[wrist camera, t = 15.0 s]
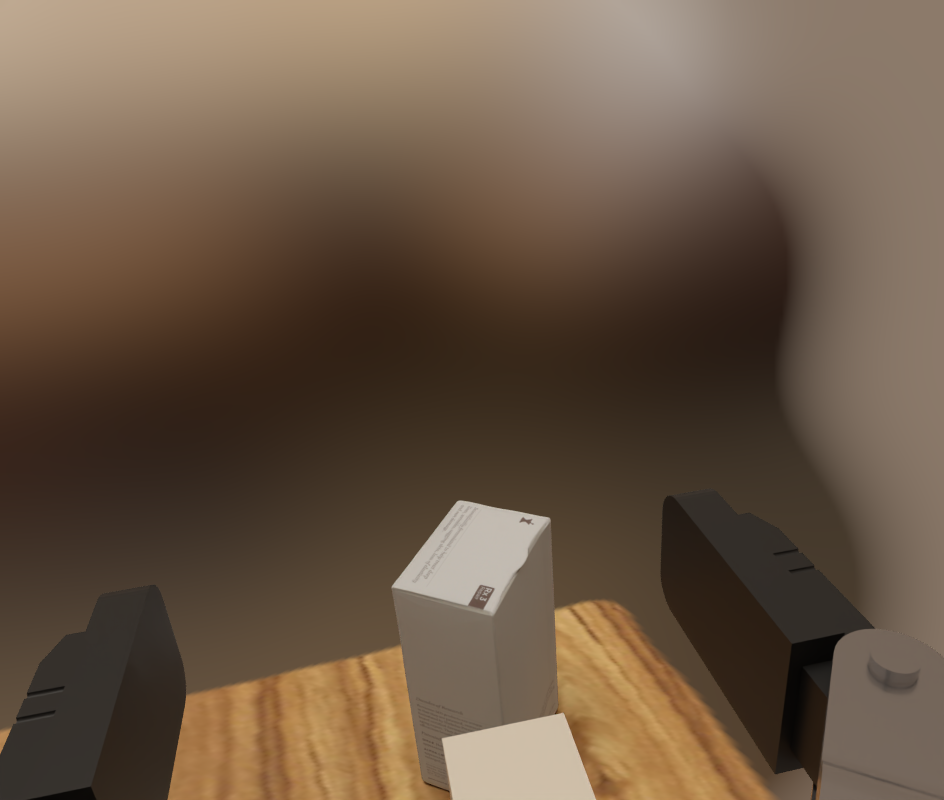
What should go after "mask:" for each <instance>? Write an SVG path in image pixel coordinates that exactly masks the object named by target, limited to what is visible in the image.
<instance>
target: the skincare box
mask: <svg viewBox="0 0 944 800" xmlns="http://www.w3.org/2000/svg"><path fill="white" fill-rule="evenodd" d="M551 545H552V544H551V522H550V518H547V517H541V516H536V515H532V514H526V513H522V512H517V511H511V510H505V509H500V508H494V507H488V506H485V505H480V504H476V503H472V502H465V501H457V503H456V504H455V505H454V506H453V507H452V509H451V510H450V512H449V513H448V514H447V515H446V517H445V518H444V520H443V521H442V522H441V523H440V525H439V526H438V527H437V528H436V530H435V531H434V533H433V534H432V535H431V536H430V538H429V539H428V540H427V542H426V543H425V544H424V546H423V547H422V548H421V549H420V551H419V552H418V553H417V554H416V556H415V557H414V558H413V560H412V561H411V562H410V564H409V565H408V566H407V568H406V569H405V570H404V571H403V573H402V574H401V575H400V577H399V578H398V579H397V581H396V582H395V583H394V584H393V586H392V592H393V598H394V604H395V609H396V616H397V623H398V628H399V633H400V640H401V646H402V654H403V661H404V668H405V674H406V681H407V687H408V693H409V700H410V706H411V712H412V719H413V726H414V731H415V738H416V744H417V751H418V757H419V763H420V769H421V775H422V779H423V781H425V782H427V783H429V784H432V785H434V786H437V787H440V788H442V789H445V790H448V791H450V790H449V784H448V777H447V770H446V763H445V756H444V750H443V743H442V738H446V737H451V736H456V735H461V734H465V733H470V732H475V731H480V730H484V729H489V728H494V727H498V726H503V725H508V724H513V723H517V722H522V721H527V720H532V719H536V718H541V717H546V716H551V715H555V712H556V710H557V708H558V686H557V663H556V638H555V615H554V591H553V570H552V569H553V567H552V547H551Z"/></svg>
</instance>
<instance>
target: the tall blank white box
mask: <svg viewBox="0 0 944 800" xmlns="http://www.w3.org/2000/svg"><path fill="white" fill-rule="evenodd" d="M442 743H443V750H444V756H445V763H446V770H447V777H448V784H449V790H450V797H451V800H596V798H595V796H594V793H593V790H592V788H591V785H590V782H589V780H588V777H587V774H586V772H585V769H584V766H583V763H582V761H581V758H580V755H579V753H578V750H577V747H576V745H575V742H574V739H573V736H572V734H571V731H570V728H569V726H568V723H567V720H566V718H565V715H564V713H560V714H555V715H551V716H546V717H541V718H536V719H532V720H527V721H522V722H517V723H513V724H508V725H503V726H498V727H494V728H489V729H484V730H480V731H475V732H470V733H465V734H461V735H456V736H451V737H446V738H442Z"/></svg>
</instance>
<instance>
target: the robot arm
mask: <svg viewBox="0 0 944 800" xmlns="http://www.w3.org/2000/svg"><path fill="white" fill-rule="evenodd" d="M661 582H662V588H663V592H664V595H665V598H666V601H667V604H668V606H669V608H670V610H671V612H672V613H673V615H674V616H675V618H676V620H677V621H678V623H679V624H680V626H681V627H682V629H683V631H684V632H685V634H686V635H687V637H688V639H689V640H690V642H691V643H692V645H693V646H694V648H695V649H696V651H697V652H698V654H699V656H700V657H701V659H702V660H703V662H704V664H705V665H706V667H707V668H708V670H709V671H710V673H711V675H712V676H713V678H714V679H715V681H716V682H717V684H718V686H719V687H720V689H721V690H722V692H723V693H724V695H725V697H726V698H727V700H728V701H729V703H730V704H731V706H732V707H733V709H734V711H735V712H736V714H737V715H738V717H739V719H740V720H741V722H742V723H743V725H744V726H745V728H746V730H747V731H748V733H749V734H750V736H751V737H752V739H753V740H754V742H755V744H756V745H757V746H758V748H759V750H760V751H761V753H762V755H763V756H764V758H765V759H766V761H767V762H768V764H769V766H770V767H771V769H772V770H773V772H774V773H775V774H778V773H783V772H786V771H791V770H795V769H800V768H804V769H805V770H806V772H807V774H808V775H809V777H810V778H811V779H812V781H813V786H812V792H811V799H810V800H944V658H943V657H942V656H941V654H939V653H938V652H937V651H935V650H934V649H933V648H931V647H930V646H928V645H927V644H925V643H923V642H921V641H919V640H917V639H915V638H913V637H910V636H908V635H905V634H902V633H898V632H895V631H889V630H883V629H875V628H874V627H873V626H872V625H871V624H870V623H869V621H868V620H867V619H866V618H865V617H864V616H863V615H862V614H861V613H860V612H859V611H858V610H857V609H856V608H855V607H854V606H853V605H852V604H851V603H850V602H849V601H848V600H847V599H846V598H845V597H844V596H843V595H842V594H841V593H840V592H839V590H838V589H837V588H836V587H835V586H834V585H833V584H832V583H831V582H830V581H829V580H828V579H827V578H826V577H825V576H824V575H823V574H822V573H821V572H820V571H819V570H815V568H814V565H813V564H812V563H811V562H810V560H809V559H808V558H807V557H805V555H804V554H803V553H799V552H798V548H797V547H796V546H795V545H794V544H793V543H792V542H791V541H790V540H789V539H788V538H787V537H786V536H785V535H784V534H783V533H782V531H780V530H779V528H777V527H775V526H773V525H771V524H769V523H768V522H766V521H764V520H762V519H760V518H758V517H756V516H754V515H753V514H751V513H745V514H740V515H738V514H737V513H736V512H735V511H734V510H733V509H732V508H731V507H730V506H729V505H728V503H727V502H726V501H725V500H724V499H723V498H722V497H721V496H720V495H719V494H718V493H717V492H716V491H715V490H714V489H705V490H699V491H693V492H688V493H682V494H677V495H671V496H667V497H666V498H665V500H664V503H663V513H662V543H661ZM185 700H186V681H185V672H184V667H183V662H182V659H181V655H180V652H179V649H178V646H177V643H176V639H175V636H174V633H173V630H172V627H171V623H170V620H169V617H168V614H167V611H166V607H165V604H164V601H163V598H162V595H161V592H160V590H159V589H158V587H157V586H156V585H150V586H143V587H138V588H132V589H127V590H121V591H116V592H109V593H104V594H102V595H100V597H99V598H98V601H97V603H96V605H95V608H94V611H93V613H92V616H91V619H90V621H89V624H88V627H87V629H86V632H81V633H75V634H69V635H66V636H65V637H64V638H63V639H62V640H61V641H60V642H59V643H58V644H57V645H56V646H55V648H54V649H53V650H52V651H51V652H50V653H49V654H48V655H47V656H46V657H45V659H43V660H42V662H41V663H40V664H39V666H38V669H37V671H36V673H35V676H34V678H33V680H32V683H31V685H30V687H29V689H28V692H27V699H24V701H23V703H22V706H21V708H20V710H19V713H18V715H17V717H16V719H17V723H16V724H13V726H12V729H11V731H10V733H9V736H8V738H7V740H6V743H5V745H4V747H3V750H2V752H1V754H0V800H167V799H168V793H169V788H170V783H171V777H172V772H173V766H174V761H175V756H176V750H177V745H178V740H179V734H180V729H181V724H182V718H183V713H184V708H185Z"/></svg>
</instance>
